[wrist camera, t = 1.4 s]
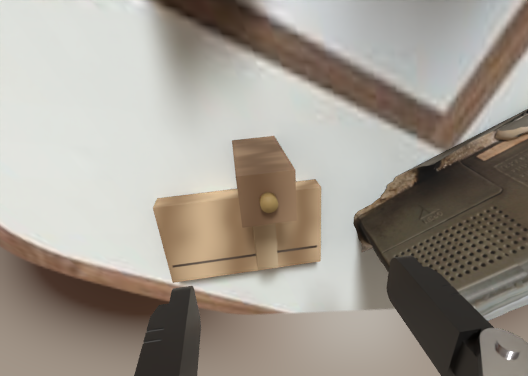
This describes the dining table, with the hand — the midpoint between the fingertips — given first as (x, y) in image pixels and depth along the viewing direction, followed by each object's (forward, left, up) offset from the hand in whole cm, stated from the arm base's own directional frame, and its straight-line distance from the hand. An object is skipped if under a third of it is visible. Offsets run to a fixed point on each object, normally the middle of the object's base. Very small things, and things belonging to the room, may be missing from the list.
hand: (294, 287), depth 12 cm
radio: (-21, +7, -19) cm, 29 cm away
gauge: (0, +5, -18) cm, 19 cm away
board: (+2, +8, -18) cm, 20 cm away
